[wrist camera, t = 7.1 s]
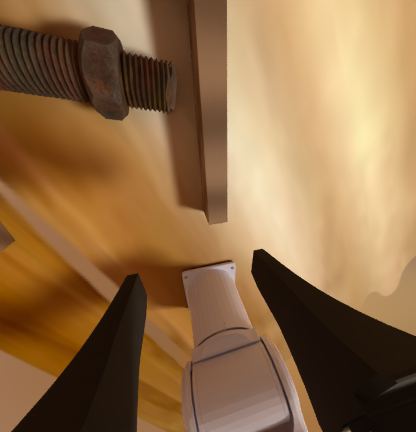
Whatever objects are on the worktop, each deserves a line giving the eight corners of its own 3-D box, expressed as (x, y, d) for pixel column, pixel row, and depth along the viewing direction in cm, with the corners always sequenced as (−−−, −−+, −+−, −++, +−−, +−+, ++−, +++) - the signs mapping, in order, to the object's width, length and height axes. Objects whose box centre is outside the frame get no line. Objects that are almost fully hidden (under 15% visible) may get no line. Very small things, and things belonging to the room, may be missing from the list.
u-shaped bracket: (220, 209, 21) (227, 221, 18) (-8, 243, 18) (-37, 265, 15) (212, -69, 11) (226, -126, 8) (-333, -119, 7) (-596, -243, 5)
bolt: (171, 104, 17) (-38, 72, 13) (175, 30, 12) (-138, -53, 8) (175, 143, 14) (-95, 118, 10) (180, 65, 9) (-290, -37, 6)
